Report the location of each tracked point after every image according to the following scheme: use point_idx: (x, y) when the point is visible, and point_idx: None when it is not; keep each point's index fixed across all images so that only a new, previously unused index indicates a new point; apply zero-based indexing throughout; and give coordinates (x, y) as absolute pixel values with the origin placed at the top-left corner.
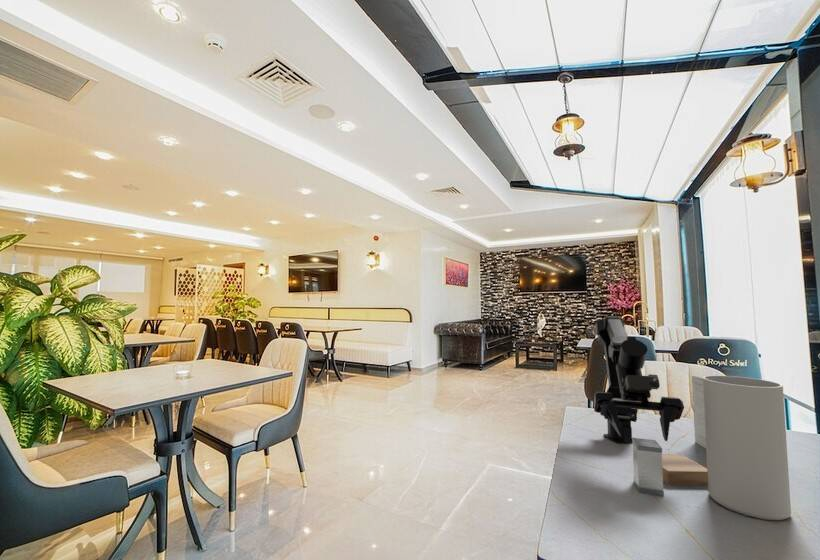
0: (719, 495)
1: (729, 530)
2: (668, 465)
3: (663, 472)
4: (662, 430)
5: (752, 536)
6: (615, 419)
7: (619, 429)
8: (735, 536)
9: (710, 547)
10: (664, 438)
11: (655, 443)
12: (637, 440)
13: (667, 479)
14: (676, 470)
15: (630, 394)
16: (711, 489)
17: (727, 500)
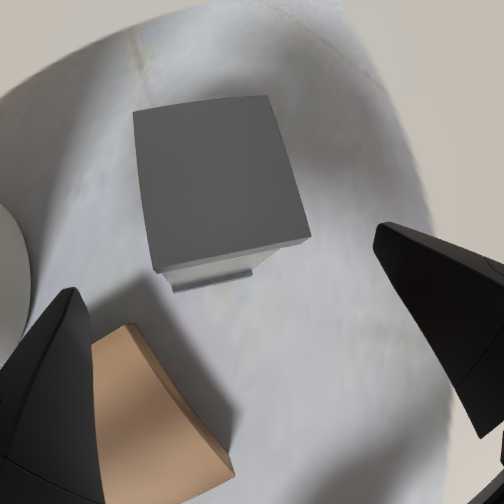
0: (10, 223)
1: (53, 111)
2: (125, 397)
3: (146, 354)
4: (85, 412)
5: (23, 115)
6: (477, 260)
7: (407, 231)
8: (54, 95)
9: (117, 40)
10: (85, 322)
11: (157, 182)
12: (274, 185)
13: (136, 331)
14: (95, 351)
15: None
16: (17, 255)
17: (2, 208)
